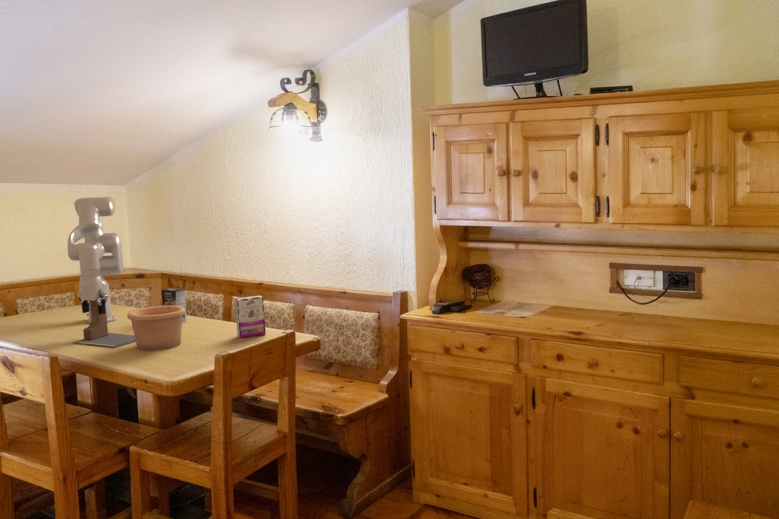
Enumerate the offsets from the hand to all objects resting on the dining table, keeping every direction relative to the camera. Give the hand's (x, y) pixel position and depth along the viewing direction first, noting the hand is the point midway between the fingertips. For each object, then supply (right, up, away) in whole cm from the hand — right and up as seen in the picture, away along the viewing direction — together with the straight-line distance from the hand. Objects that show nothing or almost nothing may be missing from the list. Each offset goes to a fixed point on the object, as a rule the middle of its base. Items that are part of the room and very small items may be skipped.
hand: (94, 313), depth 273 cm
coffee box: (+25, -7, +29) cm, 39 cm away
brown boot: (0, -11, +1) cm, 11 cm away
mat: (+9, -11, -3) cm, 14 cm away
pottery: (+33, -12, -14) cm, 38 cm away
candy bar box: (+68, -9, -2) cm, 68 cm away
